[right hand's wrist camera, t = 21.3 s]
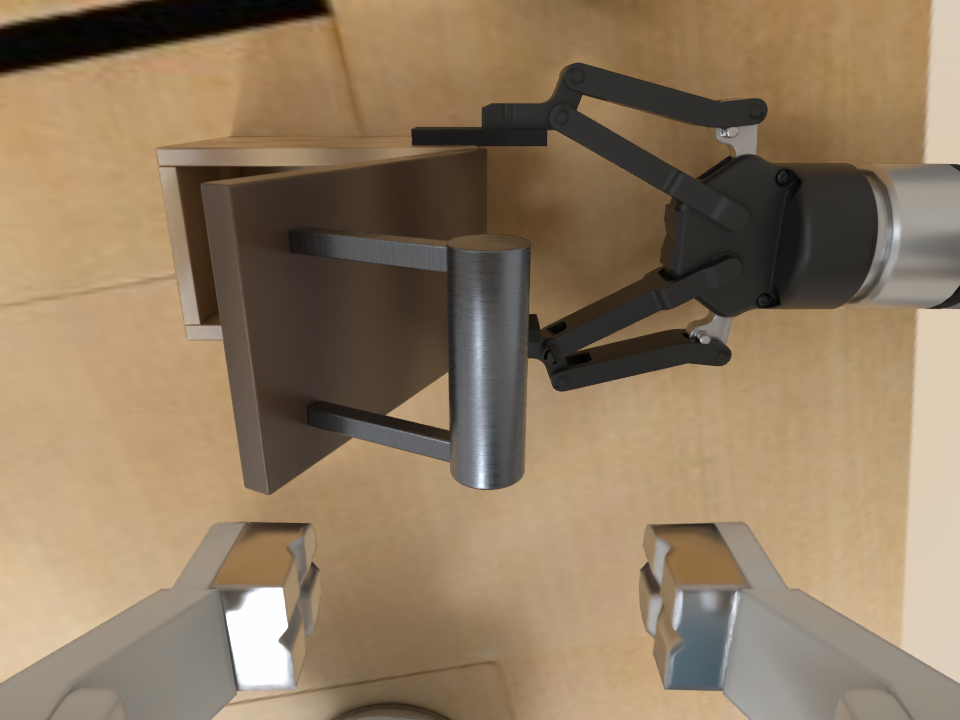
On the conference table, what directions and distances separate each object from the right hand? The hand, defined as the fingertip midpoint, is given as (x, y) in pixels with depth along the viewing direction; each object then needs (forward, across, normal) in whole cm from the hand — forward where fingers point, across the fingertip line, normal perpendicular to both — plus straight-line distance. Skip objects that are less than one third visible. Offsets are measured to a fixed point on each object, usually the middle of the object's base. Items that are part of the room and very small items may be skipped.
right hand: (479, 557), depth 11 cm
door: (+16, -4, 0) cm, 17 cm away
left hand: (+26, -3, 0) cm, 27 cm away
